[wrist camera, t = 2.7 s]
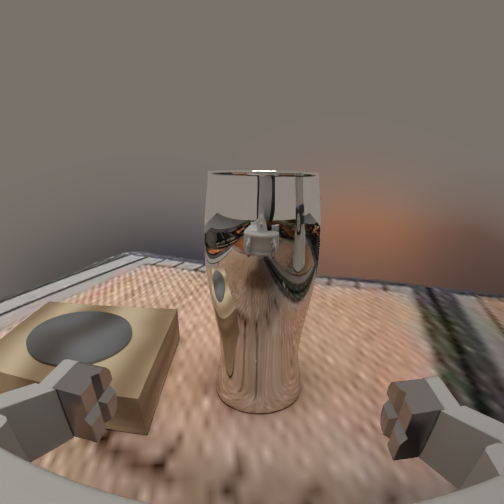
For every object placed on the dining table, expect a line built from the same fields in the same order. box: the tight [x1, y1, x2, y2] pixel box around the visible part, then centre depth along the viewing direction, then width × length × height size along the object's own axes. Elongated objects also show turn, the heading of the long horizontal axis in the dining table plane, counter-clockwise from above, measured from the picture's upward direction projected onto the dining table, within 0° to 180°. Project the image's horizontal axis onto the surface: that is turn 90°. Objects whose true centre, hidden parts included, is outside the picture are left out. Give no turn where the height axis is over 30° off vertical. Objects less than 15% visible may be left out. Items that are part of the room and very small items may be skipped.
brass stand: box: [0, 302, 180, 435], centre depth 22 cm, size 14×13×3 cm
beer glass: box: [204, 170, 321, 413], centre depth 20 cm, size 7×7×15 cm
